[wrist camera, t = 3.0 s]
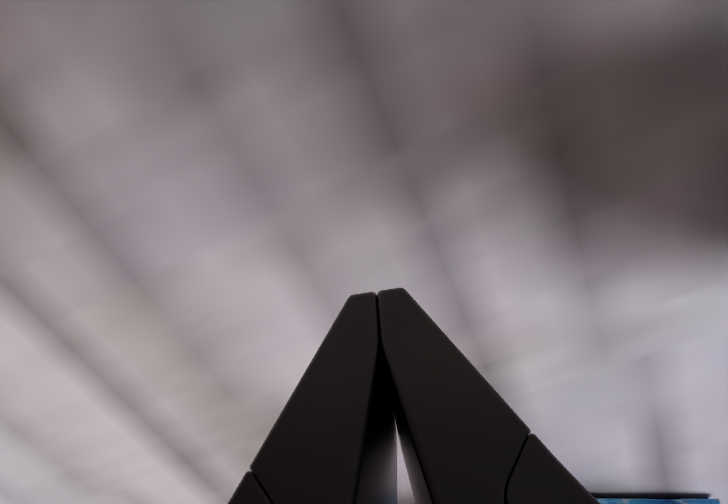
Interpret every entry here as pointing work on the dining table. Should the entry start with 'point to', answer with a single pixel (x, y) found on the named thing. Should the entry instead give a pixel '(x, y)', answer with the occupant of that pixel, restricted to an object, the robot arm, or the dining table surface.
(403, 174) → the dining table surface
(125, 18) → the dining table surface
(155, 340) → the dining table surface
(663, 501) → the soda can box
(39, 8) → the dining table surface
